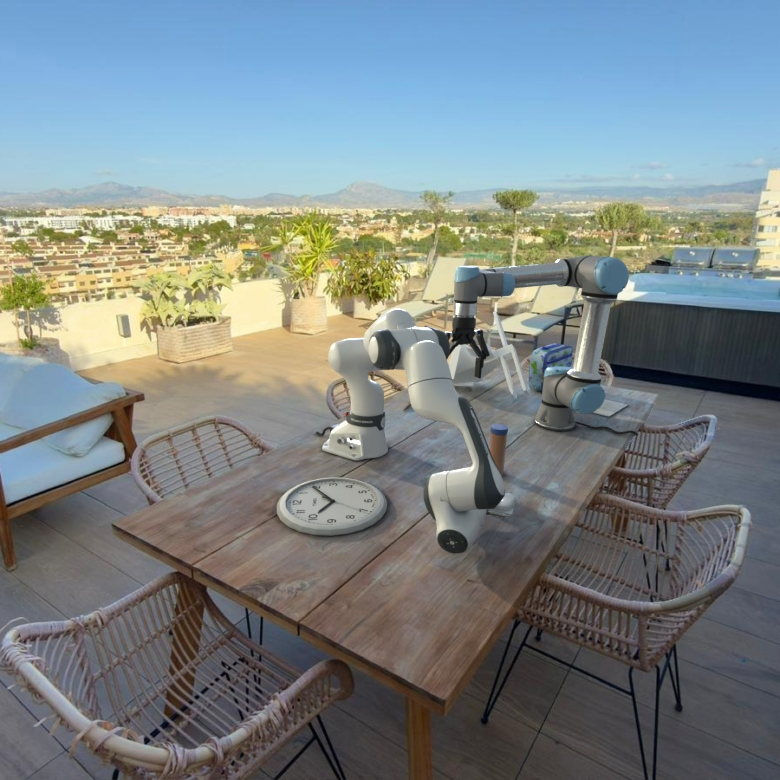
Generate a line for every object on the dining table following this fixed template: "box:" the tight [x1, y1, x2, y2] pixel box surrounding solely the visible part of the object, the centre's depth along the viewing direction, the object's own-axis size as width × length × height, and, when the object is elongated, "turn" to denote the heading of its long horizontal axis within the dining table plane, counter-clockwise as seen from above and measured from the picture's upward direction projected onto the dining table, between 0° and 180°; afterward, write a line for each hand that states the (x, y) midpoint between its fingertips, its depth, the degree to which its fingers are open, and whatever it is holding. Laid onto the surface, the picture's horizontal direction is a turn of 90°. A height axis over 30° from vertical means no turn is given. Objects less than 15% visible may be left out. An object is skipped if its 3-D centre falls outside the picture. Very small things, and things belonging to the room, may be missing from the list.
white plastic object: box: [448, 310, 531, 400], centre depth 245 cm, size 37×45×31 cm
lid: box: [490, 423, 509, 435], centre depth 159 cm, size 5×5×2 cm
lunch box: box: [528, 343, 574, 392], centre depth 249 cm, size 26×11×21 cm, turn 134°
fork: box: [403, 401, 412, 411], centre depth 222 cm, size 3×16×2 cm, turn 160°
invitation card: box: [592, 399, 629, 418], centre depth 226 cm, size 21×1×15 cm
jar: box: [489, 432, 508, 477], centre depth 161 cm, size 5×5×15 cm
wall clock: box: [276, 476, 388, 537], centre depth 142 cm, size 30×2×30 cm
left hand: (481, 484), depth 142 cm, fingers open, 8 cm apart
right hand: (460, 379), depth 174 cm, fingers open, 13 cm apart
